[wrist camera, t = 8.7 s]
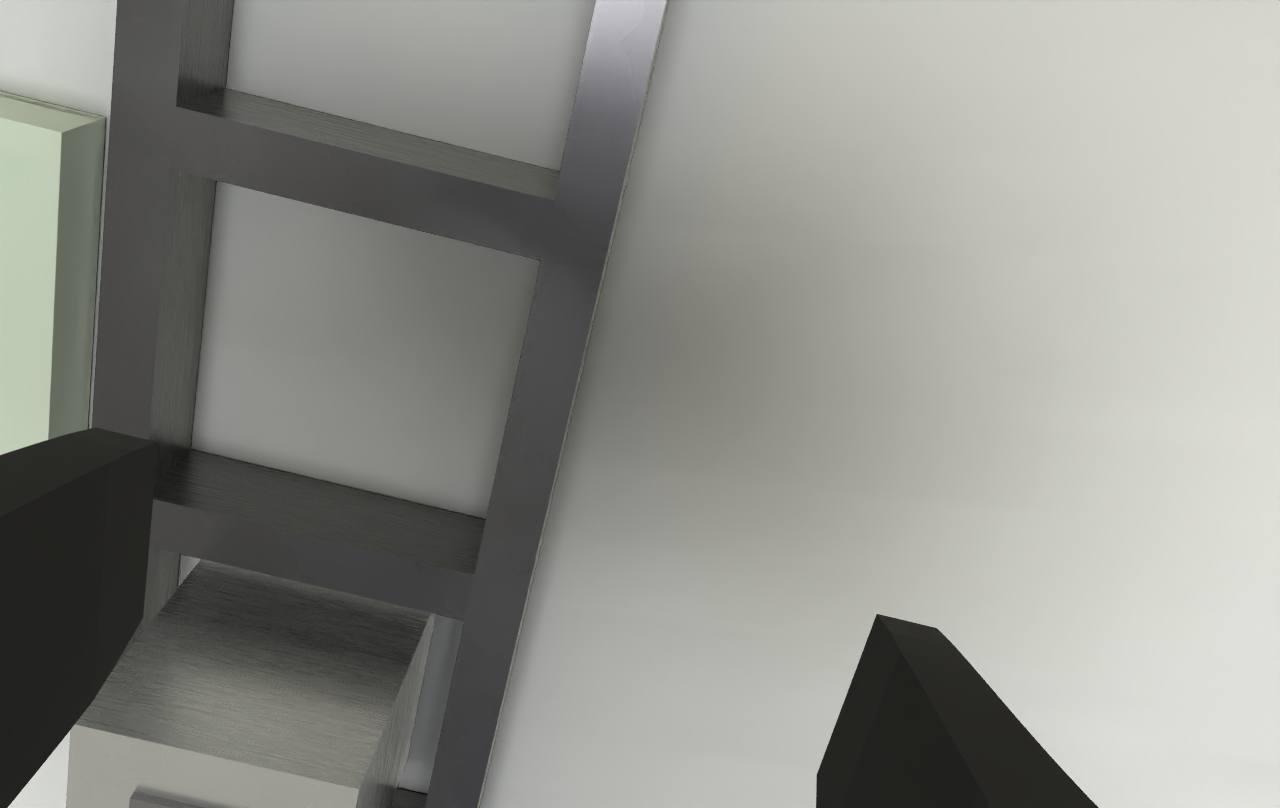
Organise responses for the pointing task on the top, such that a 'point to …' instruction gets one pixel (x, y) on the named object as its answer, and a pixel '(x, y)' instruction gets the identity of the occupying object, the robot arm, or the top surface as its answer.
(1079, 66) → the top surface
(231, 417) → the top surface
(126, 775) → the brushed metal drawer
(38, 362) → the parts tray
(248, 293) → the top surface
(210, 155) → the rack frame
